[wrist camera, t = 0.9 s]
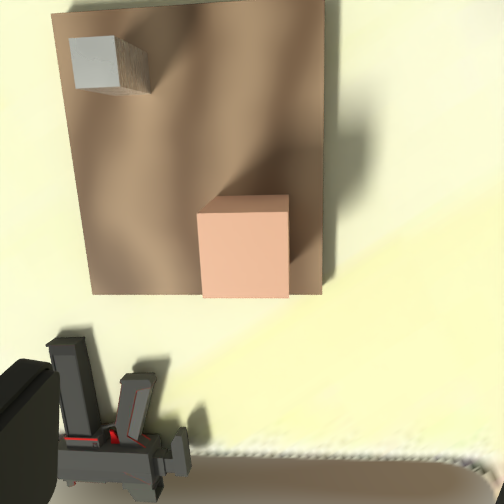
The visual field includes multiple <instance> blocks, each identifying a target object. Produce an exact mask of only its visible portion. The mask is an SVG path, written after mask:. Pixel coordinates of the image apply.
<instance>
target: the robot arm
mask: <svg viewBox="0 0 504 504" xmlns="http://www.w3.org/2000/svg"><path fill="white" fill-rule="evenodd" d="M59 402H60V374H59V372H57V371H53V367H52V364H50V363H48V362H42V361H36V360H30V359H19V360H17V361H16V362H15V363H14V364H13V365H12V366H10V367H9V368H8V369H7V370H6V371H5V372H4V373H3V374H2V375H0V504H48V502H49V501H50V499H51V497H52V495H53V493H54V490H55V487H56V483H57V473H58V438H59ZM496 504H504V483H503V486H502V488H501V491H500V493H499V496H498V498H497V501H496Z"/></svg>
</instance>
